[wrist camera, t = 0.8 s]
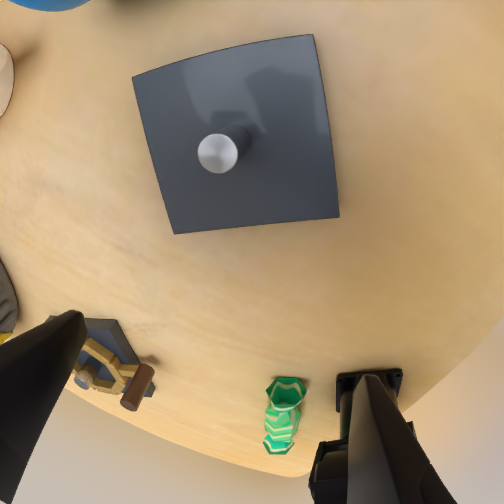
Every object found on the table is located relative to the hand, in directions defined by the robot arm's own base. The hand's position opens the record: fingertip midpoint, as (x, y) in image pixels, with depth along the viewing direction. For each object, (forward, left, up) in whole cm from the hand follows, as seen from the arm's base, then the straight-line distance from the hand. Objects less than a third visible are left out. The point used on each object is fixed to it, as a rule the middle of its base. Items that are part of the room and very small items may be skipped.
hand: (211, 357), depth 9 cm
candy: (-24, +2, -14) cm, 28 cm away
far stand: (-16, +23, -14) cm, 31 cm away
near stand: (+4, +1, -14) cm, 14 cm away
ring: (-16, +21, -12) cm, 29 cm away
